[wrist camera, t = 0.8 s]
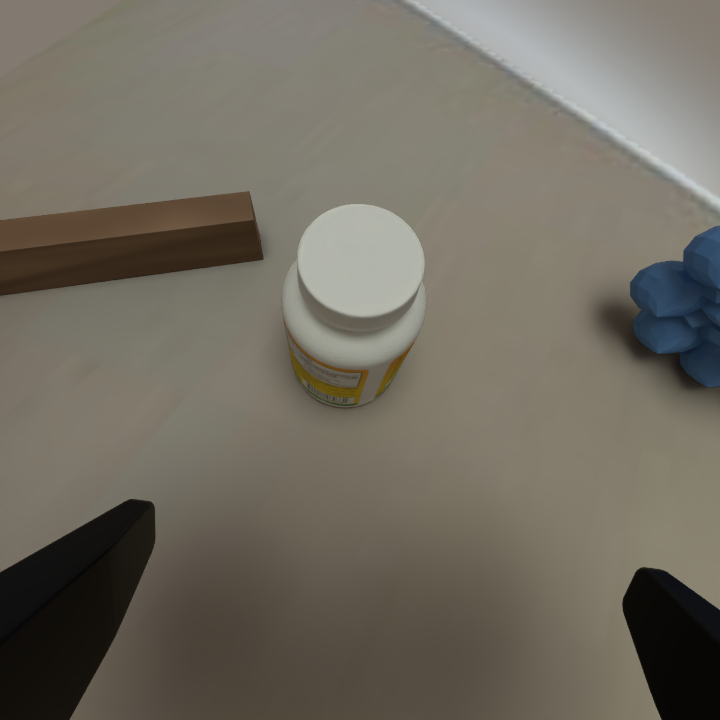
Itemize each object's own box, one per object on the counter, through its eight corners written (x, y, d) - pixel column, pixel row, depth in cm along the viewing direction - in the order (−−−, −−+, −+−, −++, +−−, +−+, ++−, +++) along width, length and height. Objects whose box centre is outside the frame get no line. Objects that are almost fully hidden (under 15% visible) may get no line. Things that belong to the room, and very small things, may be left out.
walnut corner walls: (309, 553, 20) (306, 562, 17) (-116, 649, 18) (-217, 681, 14) (259, 233, 25) (249, 191, 22) (-81, 277, 23) (-150, 237, 19)
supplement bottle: (311, 424, 22) (303, 363, 13) (278, 326, 23) (249, 209, 14) (414, 388, 23) (474, 307, 14) (376, 296, 24) (407, 168, 15)
